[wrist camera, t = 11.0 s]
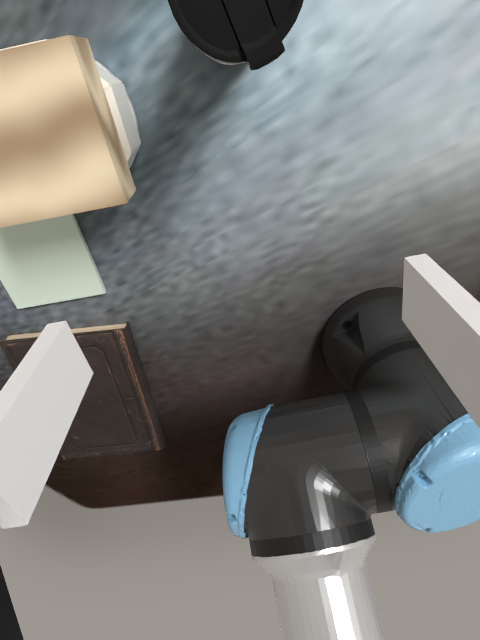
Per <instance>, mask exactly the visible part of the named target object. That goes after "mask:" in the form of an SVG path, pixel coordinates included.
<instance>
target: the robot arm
mask: <svg viewBox="0 0 480 640" xmlns="http://www.w3.org/2000/svg"><path fill="white" fill-rule="evenodd" d="M321 347H322V353H323V356H324V359H325V361H326V364H327V367H328V369H329V370H330V372H331V373H332V375H333V376H334V377H335V378H336V379H337V380H338V381H339V382H340V383H341V384H342V385H343V386H344V387H345V388H346V389H347V390H348V391H343V392H338V393H333V394H329V395H324V396H320V397H315V398H310V399H305V400H301V401H296V402H291V403H286V404H281V405H276V406H274V405H273V404H271V405H268V406H267V407H266V408H263V409H259V410H255V411H251V412H248V413H244V414H241V415H239V416H238V417H236V418H235V419H234V420H233V422H232V423H231V425H230V426H229V429H228V432H227V435H226V439H225V445H224V453H223V495H224V504H225V509H226V512H227V517H228V524H229V527H230V530H231V531H232V533H233V534H234V535H235V536H237V537H241V538H242V539H244V538H248V537H249V541H250V547H251V554H252V559H253V560H254V561H255V562H256V563H257V564H259V565H260V566H261V567H262V568H263V569H265V570H266V571H267V572H268V573H269V575H270V576H271V577H272V580H273V586H274V592H275V598H276V604H277V609H278V615H279V621H280V627H281V633H282V639H283V640H386V639H385V635H384V632H383V628H382V624H381V620H380V616H379V613H378V609H377V605H376V601H375V597H374V594H373V589H372V586H371V582H370V578H369V575H368V571H367V566H366V563H365V562H366V557H367V555H368V552H369V551H370V549H371V547H372V545H373V543H374V541H375V539H376V535H375V532H374V528H373V524H372V521H371V514H375V513H380V512H386V511H393V510H396V512H397V514H398V516H400V518H401V519H402V520H403V521H404V522H405V523H406V524H407V525H408V526H410V527H411V528H413V529H415V530H418V531H422V530H425V531H427V532H443V531H449V530H453V529H456V528H460V527H463V526H465V525H468V524H471V523H473V522H475V521H477V520H479V519H480V303H479V302H478V301H477V300H476V299H475V298H474V297H473V296H472V295H471V294H469V293H468V292H467V291H466V290H465V289H464V288H463V287H462V286H461V285H460V284H458V283H457V282H456V281H455V280H454V279H453V278H452V277H451V276H450V275H449V274H447V273H446V272H445V271H444V270H443V269H442V268H441V267H440V266H439V265H438V264H437V263H435V262H434V261H433V260H432V259H431V258H430V257H429V256H428V255H427V254H421V255H415V256H410V257H405V258H404V279H403V288H397V287H386V288H378V289H374V290H370V291H367V292H364V293H362V294H360V295H357V296H355V297H354V298H352V299H350V300H349V301H347V302H346V303H344V304H343V305H342V306H341V307H340V308H339V309H338V310H337V311H336V312H335V313H334V314H333V315H332V316H331V318H330V319H329V321H328V322H327V324H326V326H325V329H324V331H323V335H322V341H321ZM92 375H93V371H92V370H91V368H90V366H89V364H88V362H87V360H86V358H85V356H84V354H83V352H82V351H81V349H80V347H79V345H78V343H77V341H76V339H75V337H74V335H73V333H72V332H71V330H70V328H69V326H68V324H67V322H66V321H62V322H56V323H51V324H47V325H46V327H45V328H44V330H43V331H42V333H41V334H40V335H39V337H38V338H37V340H36V341H35V343H34V344H33V345H32V347H31V348H30V350H29V351H28V353H27V354H26V355H25V357H24V358H23V360H22V361H21V363H20V364H19V365H18V367H17V368H16V370H15V371H14V373H13V374H12V375H11V377H10V378H9V380H8V381H7V383H6V384H5V385H4V387H3V388H2V390H1V391H0V527H1V528H2V529H5V528H12V527H18V526H26V525H28V523H29V520H30V518H31V516H32V513H33V511H34V509H35V506H36V504H37V502H38V500H39V497H40V495H41V493H42V490H43V488H44V486H45V484H46V481H47V479H48V477H49V474H50V472H51V470H52V467H53V465H54V463H55V461H56V458H57V456H58V454H59V451H60V449H61V447H62V444H63V442H64V440H65V437H66V435H67V433H68V431H69V428H70V426H71V424H72V421H73V419H74V417H75V414H76V412H77V410H78V408H79V405H80V403H81V401H82V398H83V396H84V394H85V391H86V389H87V387H88V384H89V382H90V380H91V378H92ZM0 640H23V636H22V633H21V630H20V627H19V624H18V620H17V617H16V614H15V611H14V608H13V605H12V602H11V598H10V595H9V592H8V589H7V586H6V582H5V579H4V576H3V573H2V569H1V566H0Z"/></svg>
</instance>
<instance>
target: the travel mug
mask: <svg viewBox="0 0 480 640" xmlns="http://www.w3.org/2000/svg"><path fill="white" fill-rule="evenodd" d="M168 2H169V5H170V8H171V10H172V13H173V16H174V18H175V19H176V21H177V23H178V25H179V27H180V28H181V30H182V31H183V33H184V34H185V35H186V36H187V38H188V39H189V40H190V41H191V43H192V44H193V45H194V46H195V47H196V48H197V49H198V50H200V51H201V52H202V53H203V54H204V55H206V56H208V57H209V58H211V59H213V60H214V61H216V62H218V63H221V64H224V65H236V64H242V63H247V62H249V65H250V66H249V67H250V69H251V70H256V69H259V68H261V67H263V66H265V65H267V64H269V63H270V62H272V61H273V60H275V59H277V58H278V57H279V56H280V55H281V54H282V53H283V52H284V51H285V49H284V46H283V43H282V40H283V39H284V38H285V36H286V35H287V34H288V32H289V31H290V29H291V28H292V26H293V25H294V23H295V21H296V19H297V17H298V14H299V12H300V10H301V7H302V4H303V0H168Z"/></svg>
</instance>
